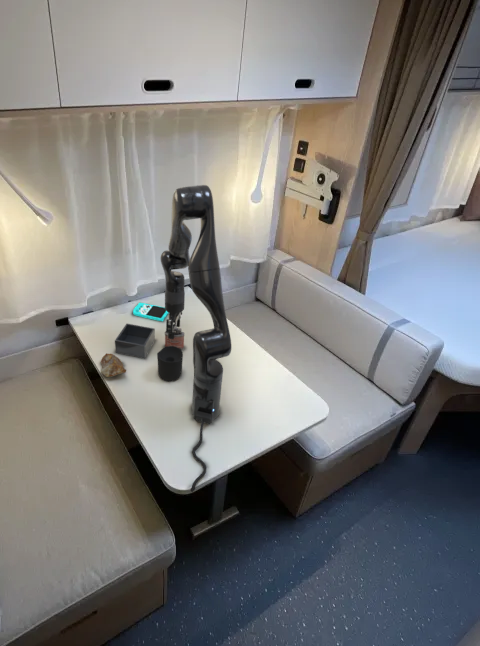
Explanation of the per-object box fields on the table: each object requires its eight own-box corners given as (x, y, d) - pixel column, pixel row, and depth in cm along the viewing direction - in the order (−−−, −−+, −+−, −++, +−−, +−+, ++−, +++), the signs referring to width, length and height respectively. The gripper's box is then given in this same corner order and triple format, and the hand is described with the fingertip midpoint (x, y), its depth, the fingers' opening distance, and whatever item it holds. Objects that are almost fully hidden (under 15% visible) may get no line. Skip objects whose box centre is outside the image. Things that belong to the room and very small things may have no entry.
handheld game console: (139, 303, 193) (139, 301, 192) (170, 310, 188) (170, 307, 187) (130, 314, 185) (130, 312, 184) (162, 321, 180) (162, 319, 180)
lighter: (184, 345, 166) (184, 326, 160) (183, 350, 163) (184, 331, 157) (165, 344, 166) (165, 325, 161) (164, 349, 163) (164, 329, 158)
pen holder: (184, 380, 148) (185, 360, 143) (160, 384, 146) (159, 363, 141) (179, 364, 156) (179, 344, 150) (155, 367, 154) (155, 347, 148)
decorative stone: (106, 375, 143) (92, 355, 155) (108, 384, 145) (94, 365, 157) (130, 366, 147) (115, 348, 159) (132, 375, 149) (116, 357, 161)
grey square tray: (144, 358, 159) (144, 346, 155) (115, 352, 162) (114, 340, 158) (155, 340, 169) (154, 328, 165) (127, 335, 172) (126, 323, 168)
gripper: (170, 287, 158) (170, 321, 167) (159, 306, 147) (159, 341, 156) (189, 290, 156) (187, 324, 165) (179, 309, 145) (178, 344, 154)
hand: (174, 332), depth 161 cm, fingers open, 8 cm apart
